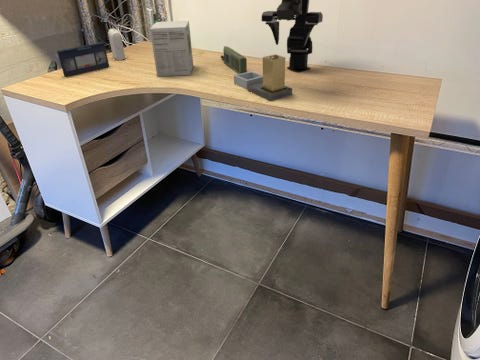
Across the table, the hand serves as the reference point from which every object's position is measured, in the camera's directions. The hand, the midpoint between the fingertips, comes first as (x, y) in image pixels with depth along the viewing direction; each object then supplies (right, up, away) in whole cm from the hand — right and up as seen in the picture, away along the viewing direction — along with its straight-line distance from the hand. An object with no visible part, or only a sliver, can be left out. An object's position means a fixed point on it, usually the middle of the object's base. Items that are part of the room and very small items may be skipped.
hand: (290, 45), depth 124 cm
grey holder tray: (-7, -15, +1) cm, 17 cm away
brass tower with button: (-6, -16, -1) cm, 17 cm away
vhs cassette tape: (-79, 0, +30) cm, 84 cm away
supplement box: (-42, -1, +26) cm, 50 cm away
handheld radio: (-20, +1, +28) cm, 35 cm away
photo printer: (-71, +11, +47) cm, 86 cm away
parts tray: (-13, -10, +9) cm, 19 cm away
